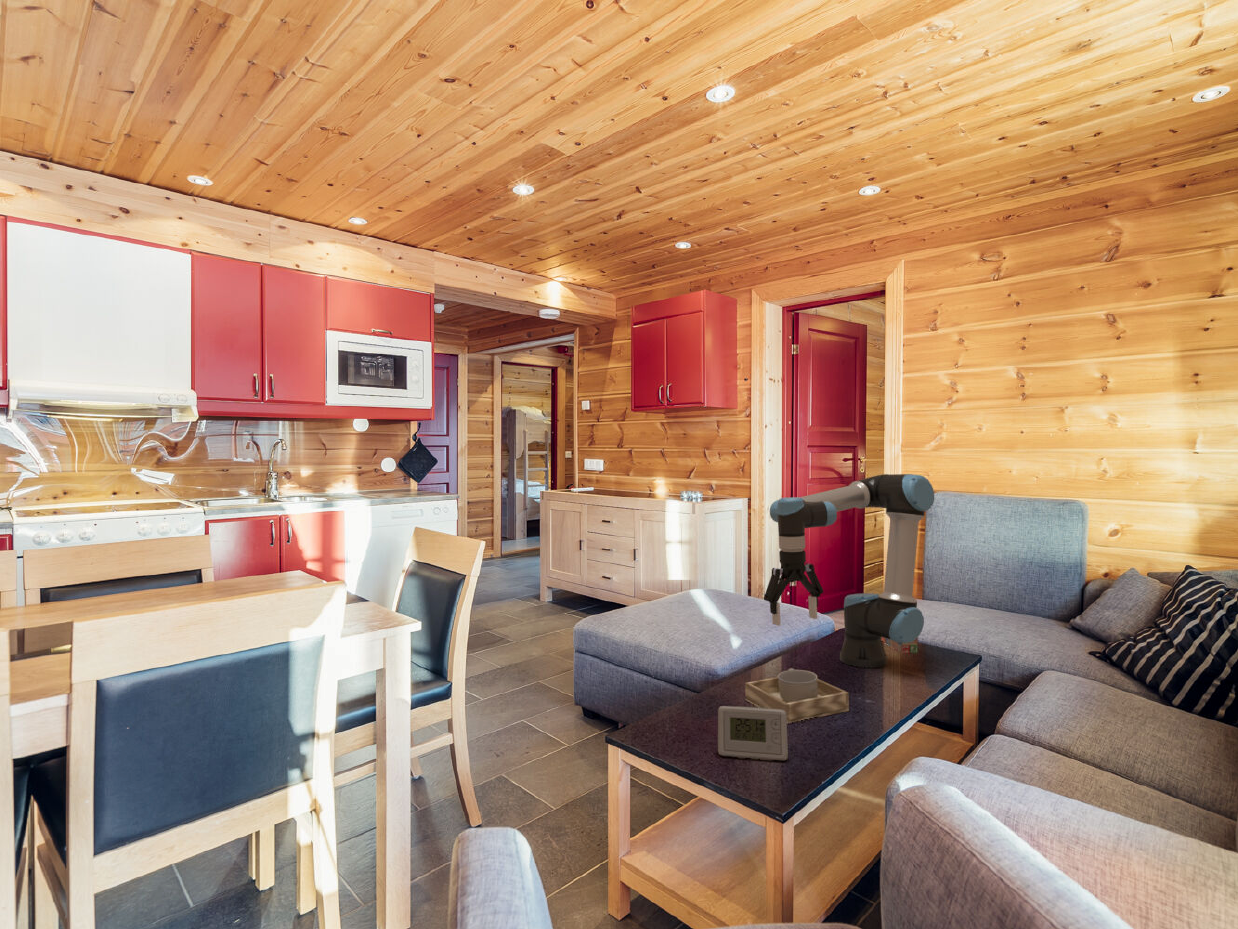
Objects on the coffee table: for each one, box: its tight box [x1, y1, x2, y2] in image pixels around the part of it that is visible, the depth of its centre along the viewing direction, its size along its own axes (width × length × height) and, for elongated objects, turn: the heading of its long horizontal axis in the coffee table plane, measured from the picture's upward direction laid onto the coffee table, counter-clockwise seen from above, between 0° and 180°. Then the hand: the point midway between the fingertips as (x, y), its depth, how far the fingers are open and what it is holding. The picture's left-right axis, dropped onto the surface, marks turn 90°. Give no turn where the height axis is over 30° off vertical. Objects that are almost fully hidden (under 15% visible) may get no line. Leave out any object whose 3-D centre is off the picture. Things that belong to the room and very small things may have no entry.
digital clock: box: [717, 705, 789, 762], centre depth 150 cm, size 16×9×11 cm, turn 66°
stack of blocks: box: [881, 636, 919, 654], centre depth 237 cm, size 21×6×12 cm, turn 4°
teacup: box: [777, 667, 819, 703], centre depth 180 cm, size 14×11×8 cm
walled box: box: [744, 676, 850, 725], centre depth 180 cm, size 21×19×5 cm
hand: (795, 621), depth 188 cm, fingers open, 13 cm apart
